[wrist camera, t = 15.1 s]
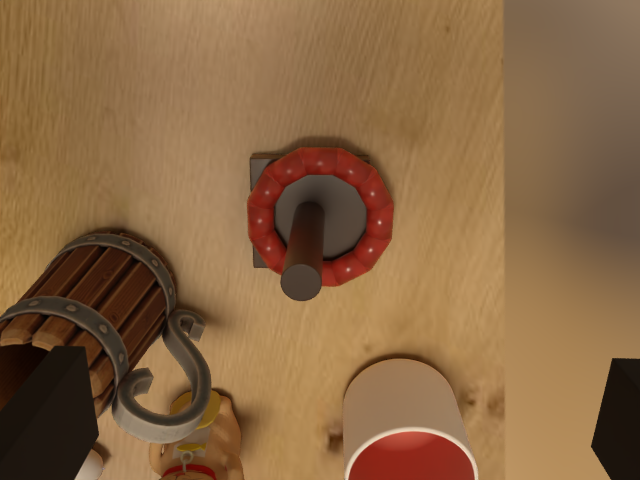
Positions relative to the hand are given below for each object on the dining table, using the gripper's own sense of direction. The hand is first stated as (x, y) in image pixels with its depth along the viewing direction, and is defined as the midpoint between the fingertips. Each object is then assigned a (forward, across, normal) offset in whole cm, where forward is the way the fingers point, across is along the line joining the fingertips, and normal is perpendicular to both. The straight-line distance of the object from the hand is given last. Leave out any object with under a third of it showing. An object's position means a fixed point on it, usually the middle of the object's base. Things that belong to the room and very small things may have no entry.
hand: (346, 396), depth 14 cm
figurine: (+31, -11, -27) cm, 42 cm away
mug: (+31, -16, -14) cm, 38 cm away
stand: (+31, -2, -6) cm, 32 cm away
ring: (+29, -1, -5) cm, 29 cm away
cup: (+31, +6, -24) cm, 40 cm away
